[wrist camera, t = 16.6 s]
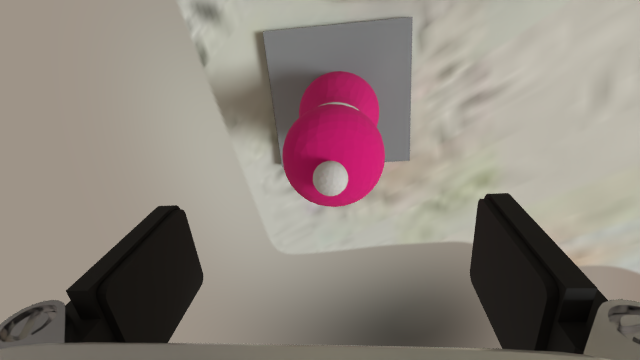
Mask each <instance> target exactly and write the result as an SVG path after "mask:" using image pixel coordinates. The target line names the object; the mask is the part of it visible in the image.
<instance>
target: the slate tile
mask: <svg viewBox="0 0 640 360" xmlns="http://www.w3.org/2000/svg"><path fill="white" fill-rule="evenodd" d="M263 37H264V44H265V51H266V58H267V65H268V72H269V79H270V86H271V93H272V100H273V107H274V114H275V121H276V128H277V135H278V142H279V149H280V156H281V163H282V167H284V165H283V159H282V154H283V145H284V141H285V138H286V136H287V133H288V131H289V129H290V128H291V126H292V125H293V123H294V122H295V121H296V120H297V119H298V118H299V108H300V102H301V99H302V96H303V94H304V92H305V90H306V89H307V87H308V86H309V85H310V84H311V83H312V82H313V81H314V80H315V79H317V78H318V77H320V76H321V75H324V74H326V73H330V72H335V71H344V72H349V73H353V74H355V75H357V76H360V77H361V78H362V79H364V80H365V81H366V82H367V83H368V84H369V85H370V86H371V87H372V89H373V90H374V92H375V94H376V96H377V99H378V103H379V120H378V124H377V128H378V130H379V132H380V134H381V136H382V140H383V144H384V149H385V161H384V162H393V161H409V160H410V111H411V61H412V17H405V18H395V19H385V20H374V21H364V22H354V23H344V24H334V25H324V26H314V27H304V28H294V29H283V30H273V31H263Z"/></svg>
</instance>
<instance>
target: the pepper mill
mask: <svg viewBox="0 0 640 360" xmlns="http://www.w3.org/2000/svg"><path fill="white" fill-rule="evenodd" d="M378 120H379V103H378V99H377V96H376V94H375V92H374V90H373V89H372V87H371V86H370V85H369V84H368V83H367V82H366V81H365V80H364V79H362V78H361V77H360V76H357V75H355V74H353V73H349V72H344V71H335V72H330V73H326V74H324V75H321V76H320V77H318V78H317V79H315V80H314V81H313V82H312V83H311V84H310V85H309V86H308V87H307V89H306V90H305V92H304V94H303V96H302V99H301V102H300V108H299V118H298V119H297V120H296V121H295V122H294V123H293V125H292V126H291V128H290V129H289V131H288V133H287V136H286V138H285V141H284V145H283V154H282V159H283V165H284V170H285V173H286V176H287V178H288V180H289V182H290V184H291V185H292V186H293V188H294V189H295V190H296V191H297V192H298V193H299V194H300V195H301V196H303V197H304V198H305V199H307V200H309V201H310V202H313V203H316V204H318V205H323V206H331V207H337V206H344V205H348V204H351V203H354V202H356V201H358V200H360V199H362V198H363V197H364V196H366V195H367V194H368V193H369V192H370V191H371V190H372V189H373V188H374V186H375V185H376V184H377V182H378V180H379V178H380V176H381V174H382V171H383V167H384V161H385V149H384V144H383V140H382V136H381V134H380V132H379V130H378V128H377V124H378Z"/></svg>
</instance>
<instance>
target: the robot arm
mask: <svg viewBox="0 0 640 360" xmlns="http://www.w3.org/2000/svg"><path fill="white" fill-rule="evenodd" d="M470 276H471V282H472V284H473V286H474V289H475V290H476V293H477V295H478V297H479V299H480V302H481V304H482V306H483V308H484V310H485V312H486V314H487V317H488V319H489V321H490V323H491V325H492V327H493V329H494V332H495V334H496V336H497V338H498V340H499V342H500V345H501V346H502V349H490V348H445V347H443V348H441V347H398V346H396V347H395V346H350V345H289V344H288V345H287V344H282V345H281V344H214V343H209V344H208V343H203V344H202V343H168V341H169V340H170V338H171V336H172V335H173V333H174V331H175V329H176V328H177V326H178V324H179V323H180V321H181V319H182V318H183V316H184V314H185V312H186V311H187V309H188V307H189V306H190V304H191V302H192V300H193V299H194V297H195V295H196V294H197V292H198V290H199V289H200V287H201V285H202V282H203V272H202V269H201V265H200V262H199V258H198V255H197V251H196V248H195V245H194V241H193V238H192V234H191V231H190V227H189V224H188V220H187V217H186V214H185V212H184V210H180V208H179V207H178V206H158V207H157V208H156V209H155V210H154V211H152V212H151V213H150V214H149V215H148V216H147V217H146V218H145V219H144V220H143V221H142V222H141V223H140V224H138V225H137V226H136V227H135V228H134V229H133V230H132V231H131V232H130V233H128V234H127V235H126V236H125V237H124V238H123V239H122V240H121V241H120V242H119V243H118V244H117V245H115V247H113V248H112V249H111V250H110V251H109V252H108V253H107V254H106V255H105V256H103V258H101V259H100V260H99V261H98V262H97V263H96V264H95V265H94V266H93V267H91V268H90V269H89V270H88V271H87V272H86V273H85V274H84V275H83V276H82V277H81V278H79V279H78V280H77V281H76V282H75V283H74V284H73V285H72V286H71V287H70V288H69V289H68V290H66V292H67V294H68V296H69V298H70V300H71V301H70V302H69V303H68V304H67V305H66V306H65V305H64V303H63V302H61V301H58V300H49V301H43V302H40V303H36V304H34V305H31V306H29V307H26V308H24V309H22V310H20V311H19V312H17V313H15V314H13V315H12V316H10V317H9V318H8V319H6V320H5V321H4V322H2V323H1V324H0V360H640V302H636V301H631V300H623V299H618V300H609V301H608V300H607V299H606V298H605V297H604V296H603V295H602V293H601V292H600V291H599V290H598V289H597V287H596V286H595V285H594V284H593V283H592V282H591V281H590V280H589V279H588V278H587V277H586V276H585V274H584V273H583V272H582V271H581V270H580V269H579V268H578V267H577V266H576V265H575V264H574V263H573V262H572V260H571V259H570V258H569V257H568V256H567V255H566V254H565V253H564V252H563V251H562V250H561V249H560V248H559V247H558V246H557V244H556V243H555V242H554V241H553V240H552V239H551V238H550V237H549V236H548V235H547V234H546V233H545V232H544V231H543V230H542V228H541V227H540V226H539V225H538V224H537V223H536V222H535V221H534V220H533V219H532V218H531V217H530V216H529V215H528V214H527V212H526V211H525V210H524V209H523V208H522V207H521V206H520V205H519V204H518V203H517V202H516V201H515V200H514V199H513V198H512V196H511V195H510V194H508V193H502V194H487V195H486V196H485V198H484V199H480V200H479V202H478V208H477V216H476V225H475V233H474V242H473V250H472V259H471V268H470Z"/></svg>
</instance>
